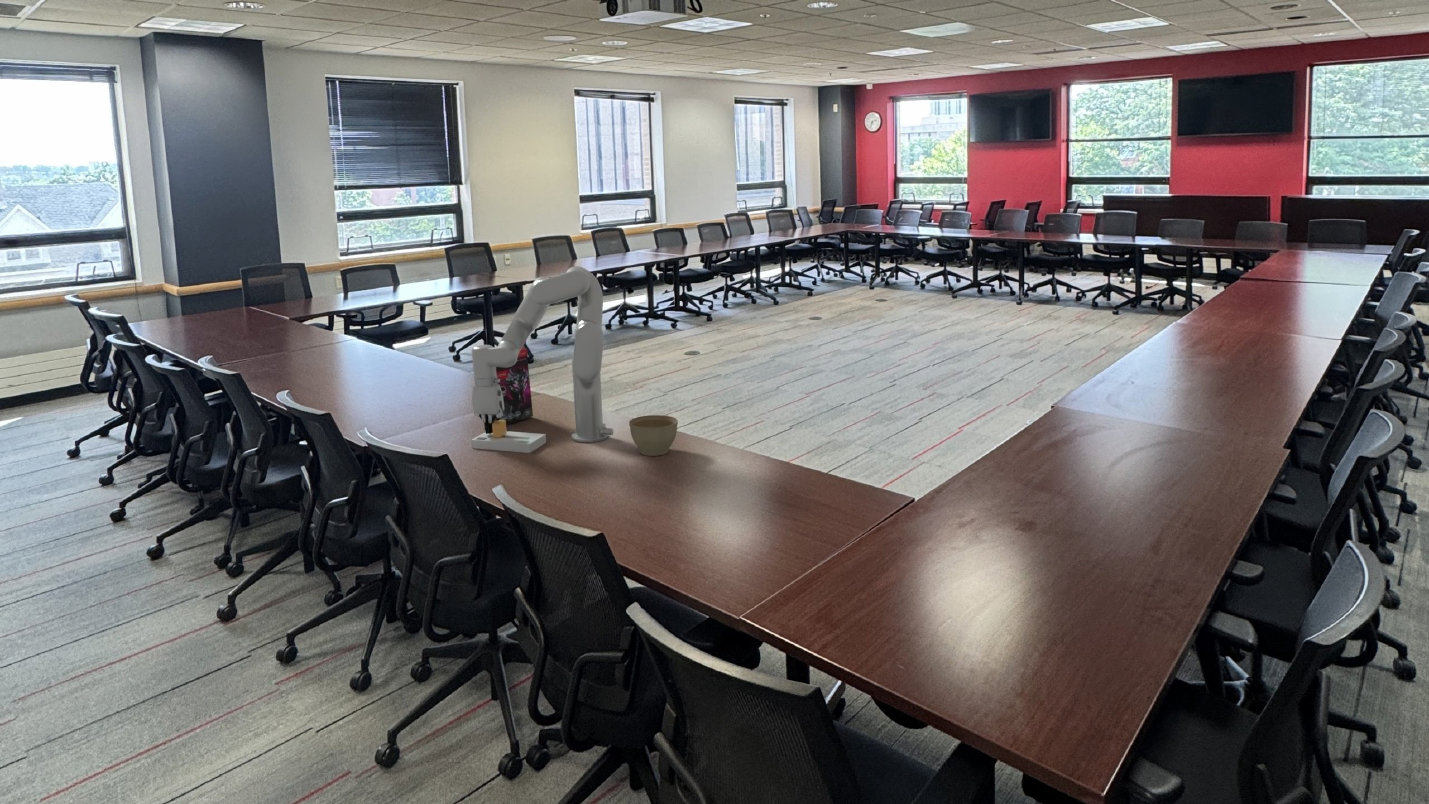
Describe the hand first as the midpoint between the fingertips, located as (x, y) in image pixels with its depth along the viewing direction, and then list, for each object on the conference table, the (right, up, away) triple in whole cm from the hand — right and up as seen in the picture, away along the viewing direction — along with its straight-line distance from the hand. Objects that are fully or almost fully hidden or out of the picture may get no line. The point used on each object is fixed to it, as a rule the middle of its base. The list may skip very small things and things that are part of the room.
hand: (490, 432), depth 317 cm
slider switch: (+7, -4, -1) cm, 8 cm away
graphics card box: (+1, +3, +28) cm, 28 cm away
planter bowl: (+58, -6, -11) cm, 59 cm away
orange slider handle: (+4, -3, 0) cm, 5 cm away
